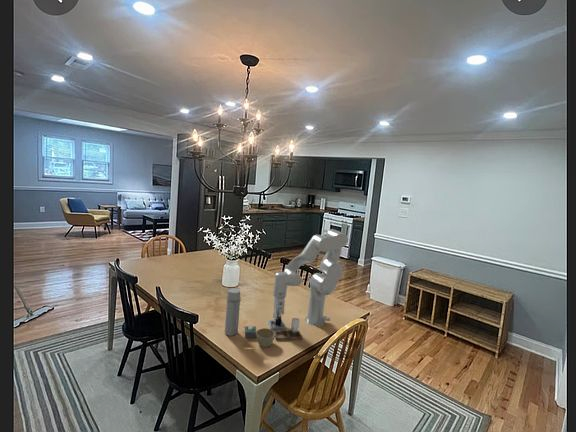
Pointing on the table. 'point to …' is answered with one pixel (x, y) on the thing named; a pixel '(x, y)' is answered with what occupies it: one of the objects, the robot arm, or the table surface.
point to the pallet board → (286, 335)
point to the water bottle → (232, 311)
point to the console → (250, 332)
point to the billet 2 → (294, 327)
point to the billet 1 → (275, 320)
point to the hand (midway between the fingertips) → (277, 321)
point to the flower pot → (265, 337)
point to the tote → (276, 327)
